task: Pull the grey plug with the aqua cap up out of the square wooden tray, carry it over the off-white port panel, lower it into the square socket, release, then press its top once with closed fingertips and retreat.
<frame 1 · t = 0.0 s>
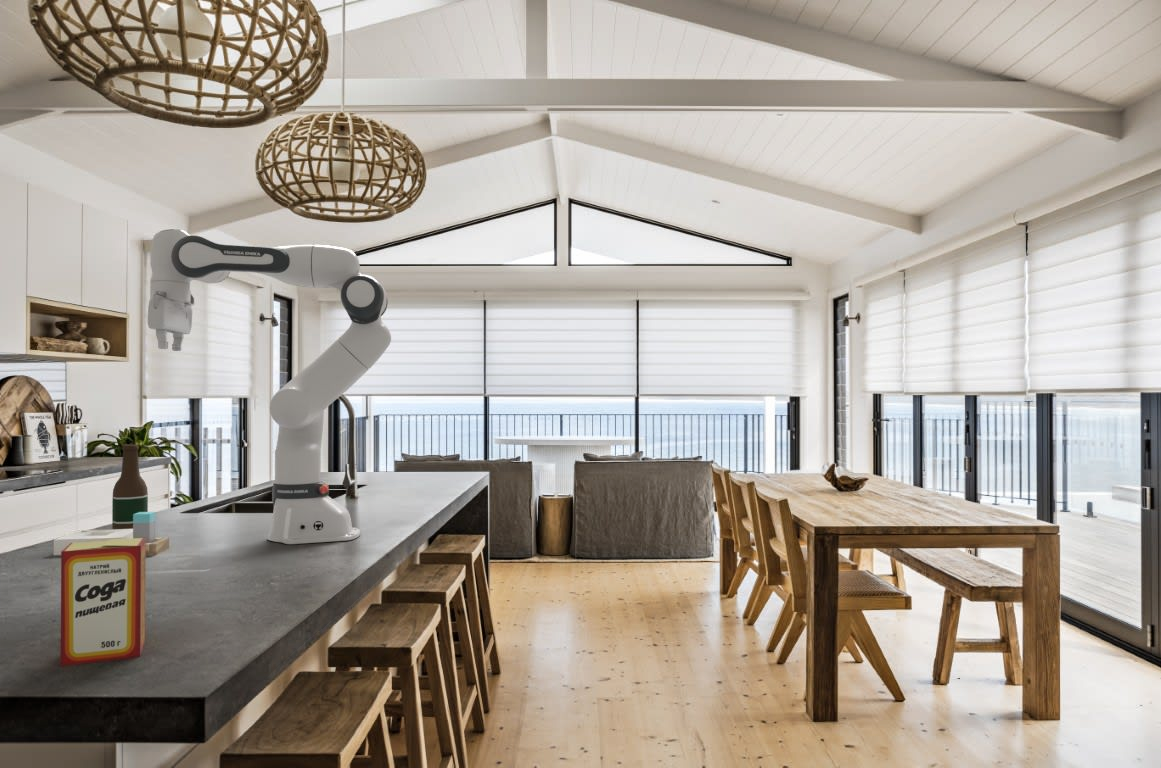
hand: (170, 350, 193), 48 cm above the countertop, tool pointing down, fingers open, 8 cm apart
beer bottle: (130, 539, 196), on the countertop
port: (99, 550, 181), on the countertop
plug: (144, 552, 177), resting on square wooden tray
baking soda box: (104, 655, 110), on the countertop
square wooden tray: (144, 554, 177), on the countertop
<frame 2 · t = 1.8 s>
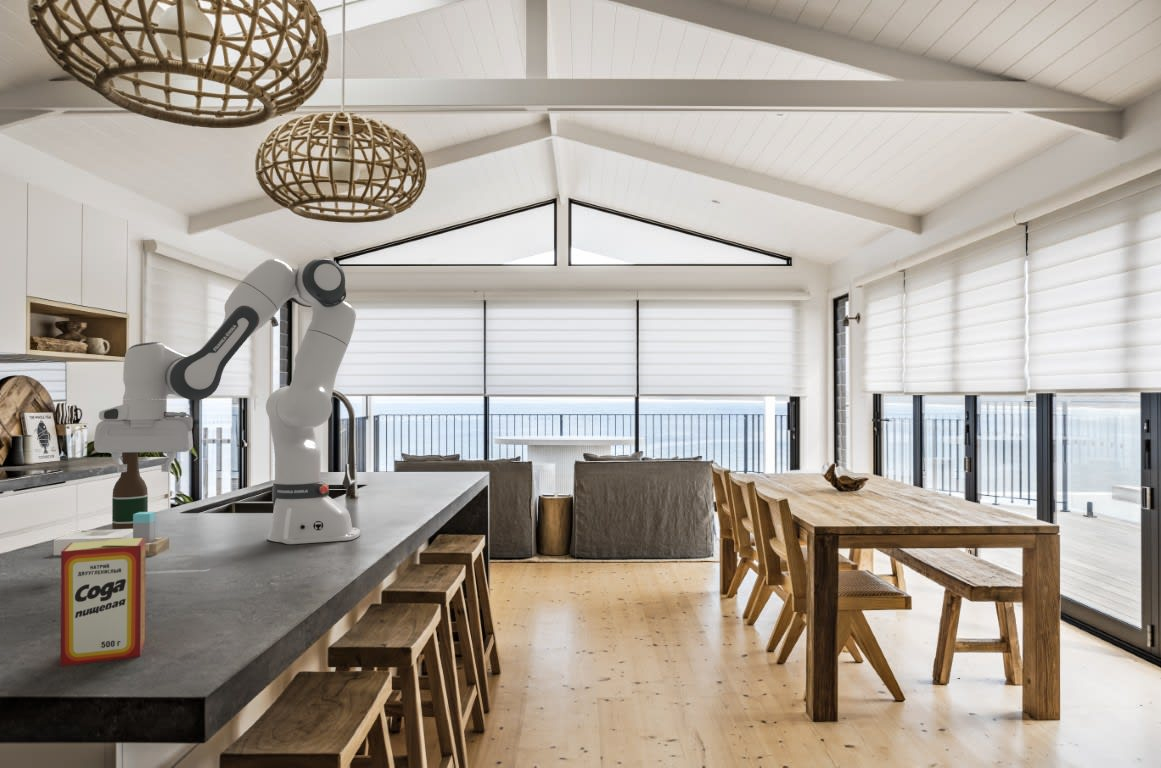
hand: (144, 471, 177), 19 cm above the countertop, tool pointing down, fingers open, 8 cm apart
nothing on the countertop moved.
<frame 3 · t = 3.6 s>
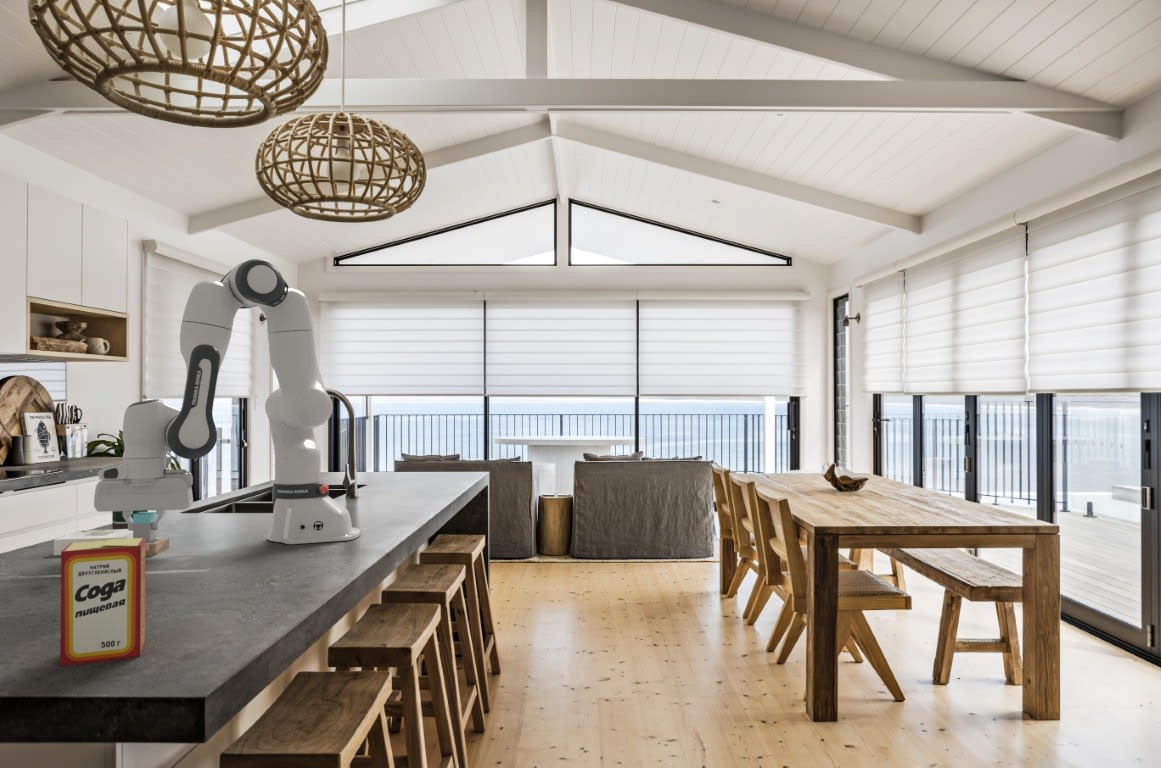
hand: (144, 529, 177), 6 cm above the countertop, tool pointing down, fingers closed on plug, 3 cm apart
plug: (144, 552, 177), point 1 cm above the countertop, touching gripper, square wooden tray
everything else where it was.
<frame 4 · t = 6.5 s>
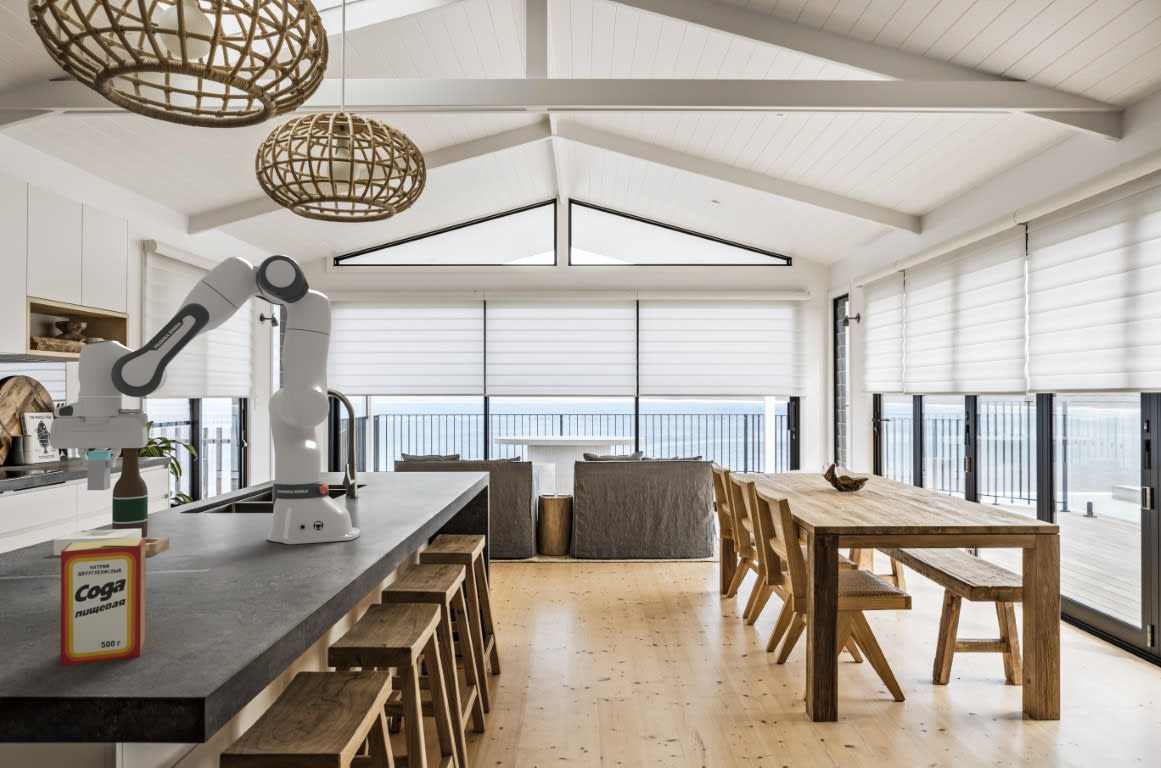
hand: (99, 467, 181), 20 cm above the countertop, tool pointing down, fingers closed on plug, 3 cm apart
plug: (98, 489, 181), point 15 cm above the countertop, touching gripper
everything else where it was.
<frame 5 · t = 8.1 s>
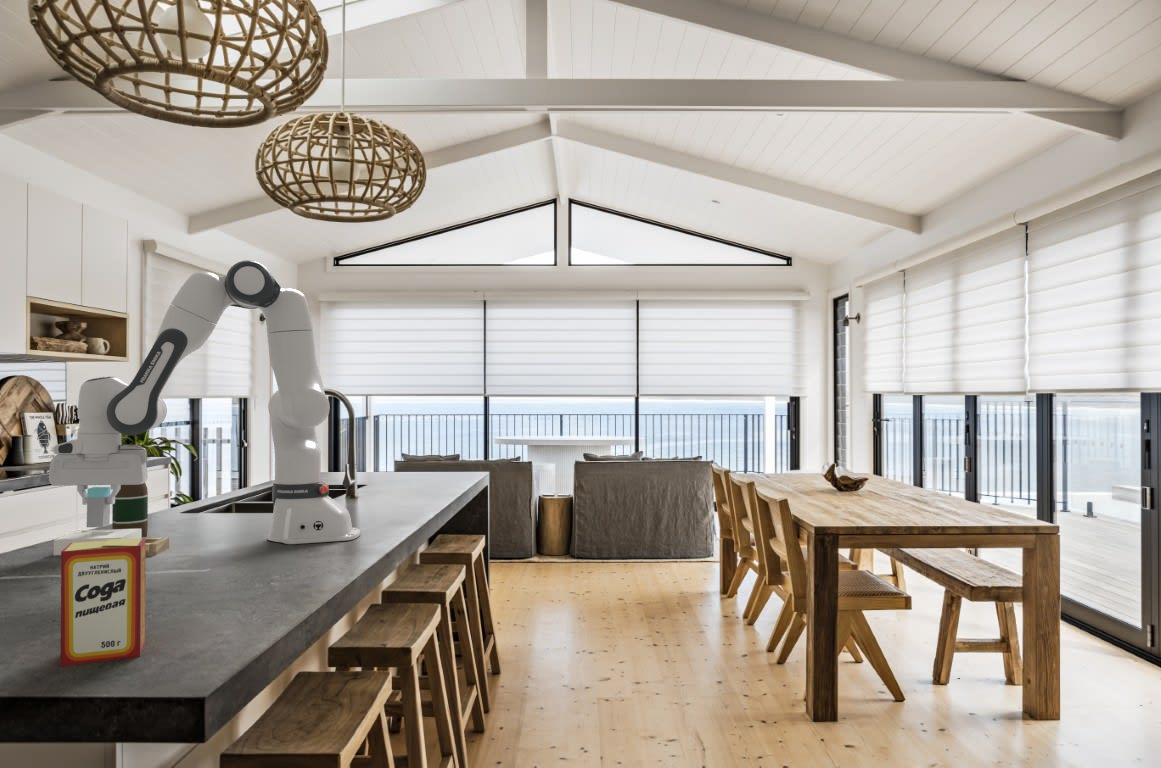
hand: (98, 504, 181), 11 cm above the countertop, tool pointing down, fingers closed on plug, 3 cm apart
plug: (98, 526, 181), point 6 cm above the countertop, touching gripper
everything else where it was.
when the fingers open (7 cm above the countertop, at t = 9.5 s): plug stays where it is, resting on port.
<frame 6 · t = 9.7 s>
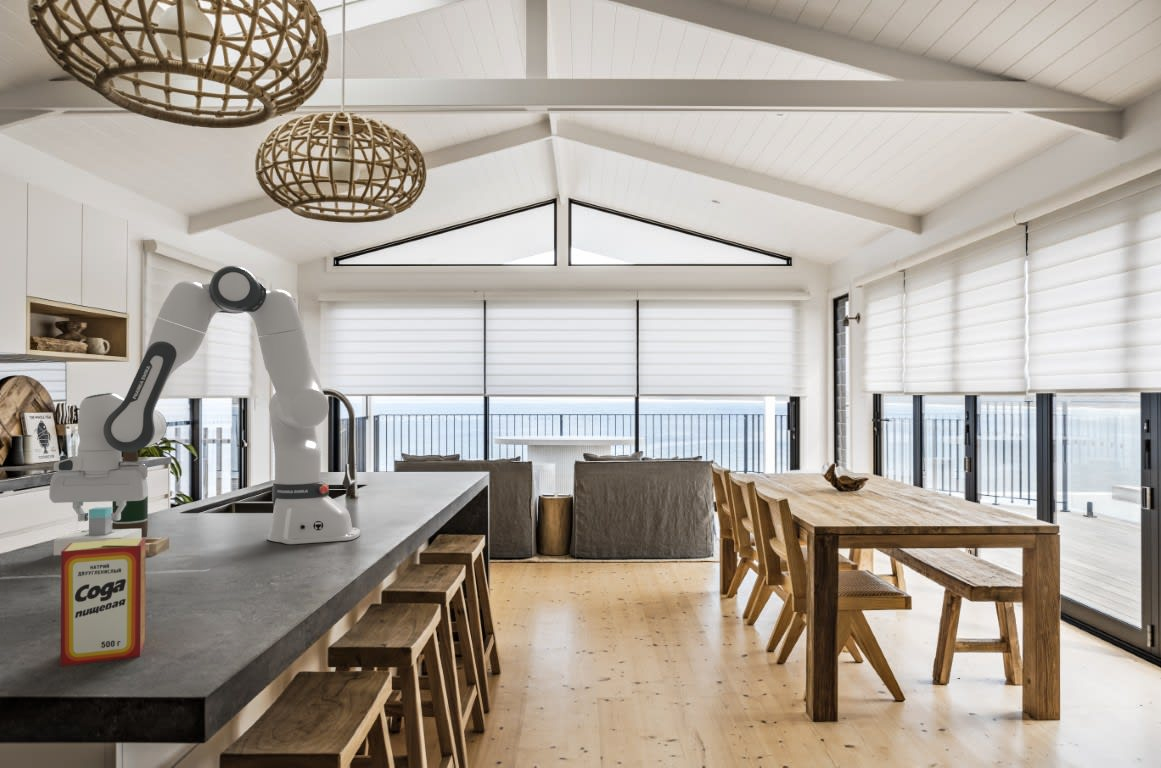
hand: (99, 520, 181), 7 cm above the countertop, tool pointing down, fingers open, 6 cm apart
plug: (100, 546, 181), point 1 cm above the countertop, touching port
everything else where it was.
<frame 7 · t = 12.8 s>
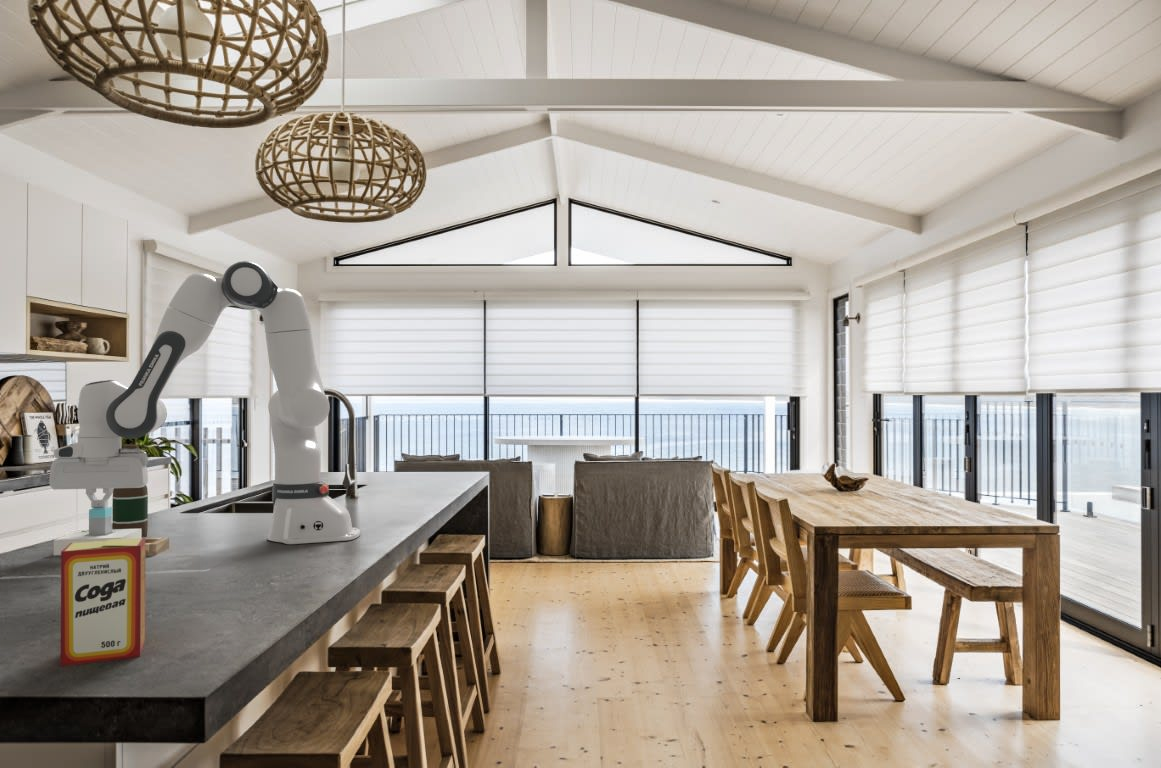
hand: (99, 507, 181), 10 cm above the countertop, tool pointing down, fingers closed
nothing on the countertop moved.
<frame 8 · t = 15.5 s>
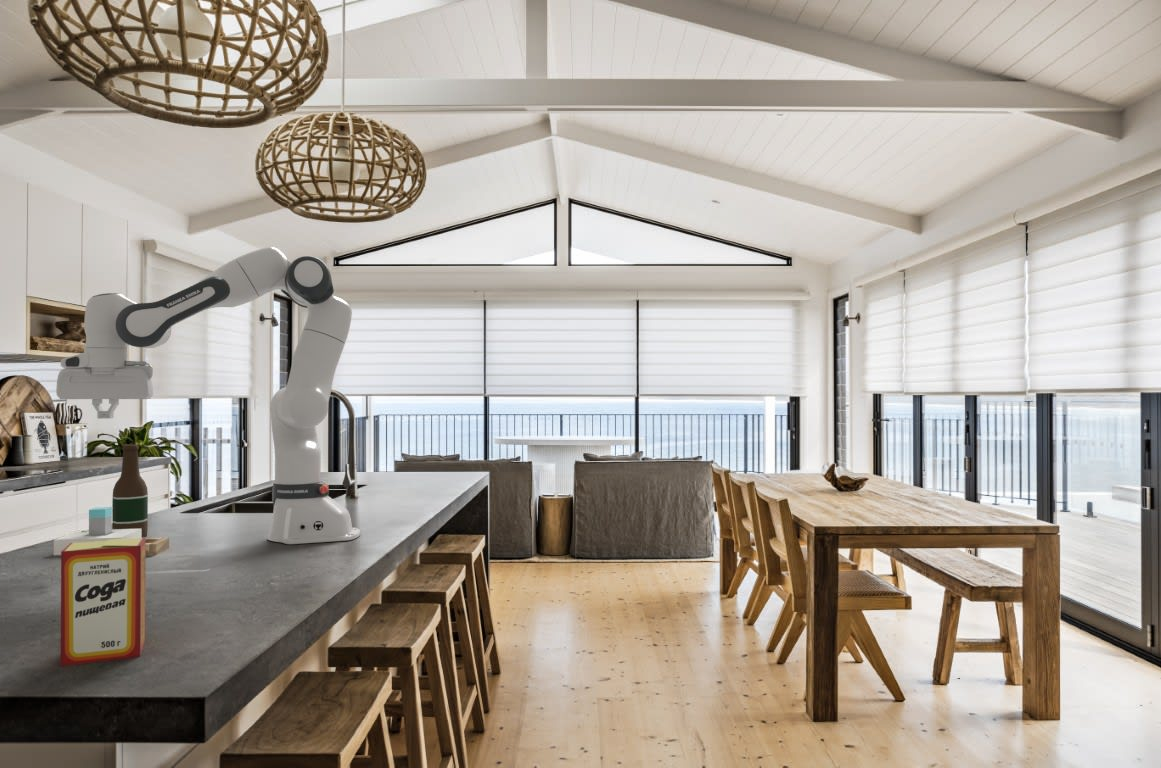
hand: (105, 418, 184), 31 cm above the countertop, tool pointing down, fingers closed
nothing on the countertop moved.
at the end: plug 0.3 cm off-centre on the port, point 1.0 cm above the port's base; plug tilted 0°; the gripper is holding nothing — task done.
